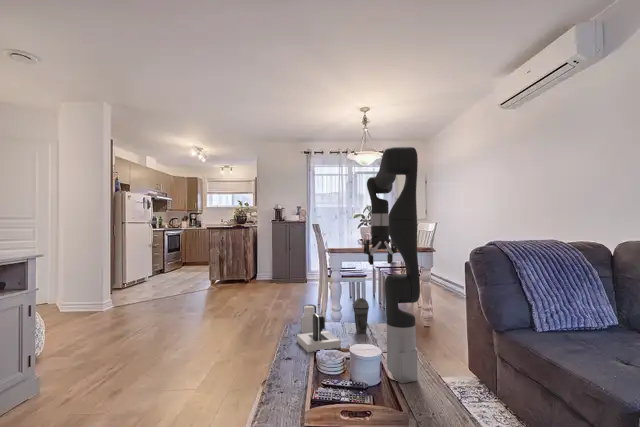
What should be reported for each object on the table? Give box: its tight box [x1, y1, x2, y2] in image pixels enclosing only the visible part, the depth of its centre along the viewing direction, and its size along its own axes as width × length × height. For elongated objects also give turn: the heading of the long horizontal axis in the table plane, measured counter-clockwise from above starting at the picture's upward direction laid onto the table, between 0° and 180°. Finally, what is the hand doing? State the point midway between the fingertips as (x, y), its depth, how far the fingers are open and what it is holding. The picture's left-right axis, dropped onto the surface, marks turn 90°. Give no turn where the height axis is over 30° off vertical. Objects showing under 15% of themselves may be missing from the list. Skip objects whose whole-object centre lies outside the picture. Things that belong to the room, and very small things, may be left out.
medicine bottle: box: [300, 304, 317, 334], centre depth 172 cm, size 7×7×12 cm
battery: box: [313, 313, 326, 341], centre depth 154 cm, size 7×4×11 cm, turn 15°
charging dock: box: [296, 330, 341, 353], centre depth 154 cm, size 14×14×3 cm
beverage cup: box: [352, 288, 370, 335], centre depth 170 cm, size 7×7×20 cm
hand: (380, 264), depth 153 cm, fingers open, 8 cm apart
